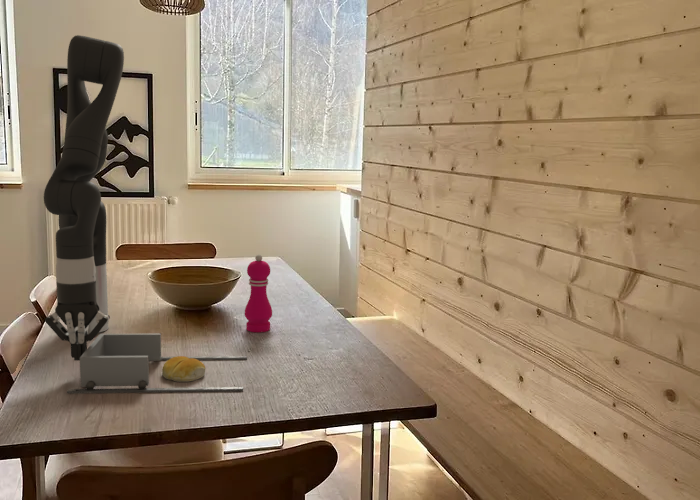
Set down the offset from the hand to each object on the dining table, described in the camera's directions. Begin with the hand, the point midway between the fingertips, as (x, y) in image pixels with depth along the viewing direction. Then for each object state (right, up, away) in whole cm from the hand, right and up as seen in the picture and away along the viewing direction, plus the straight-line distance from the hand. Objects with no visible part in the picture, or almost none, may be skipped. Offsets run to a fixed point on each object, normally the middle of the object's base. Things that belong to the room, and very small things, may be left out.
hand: (79, 359), depth 140 cm
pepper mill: (+32, +2, +37) cm, 49 cm away
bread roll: (+21, -4, +3) cm, 22 cm away
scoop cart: (+9, -4, +2) cm, 10 cm away
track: (+17, -4, +3) cm, 18 cm away
